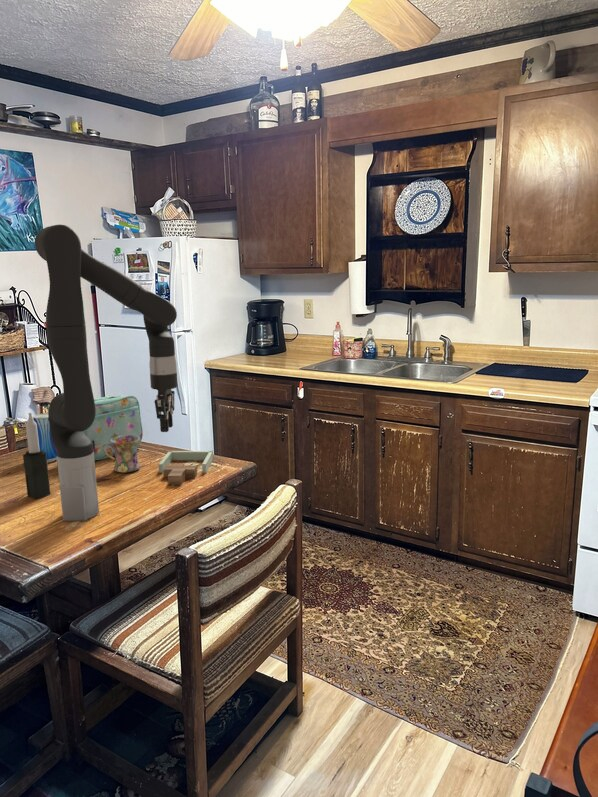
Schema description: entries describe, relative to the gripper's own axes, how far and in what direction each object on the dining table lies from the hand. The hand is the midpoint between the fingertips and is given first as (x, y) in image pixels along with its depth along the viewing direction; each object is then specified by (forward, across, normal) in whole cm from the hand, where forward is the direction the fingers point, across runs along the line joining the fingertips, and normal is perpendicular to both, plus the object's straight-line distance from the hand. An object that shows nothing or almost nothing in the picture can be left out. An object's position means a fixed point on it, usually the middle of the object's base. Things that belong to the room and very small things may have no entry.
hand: (166, 429), depth 171 cm
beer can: (+20, +30, +50) cm, 62 cm away
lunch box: (+20, +38, +32) cm, 53 cm away
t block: (+19, +10, 0) cm, 22 cm away
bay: (+19, +23, 0) cm, 30 cm away
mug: (+20, +20, +20) cm, 34 cm away
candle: (+20, -2, +38) cm, 43 cm away
